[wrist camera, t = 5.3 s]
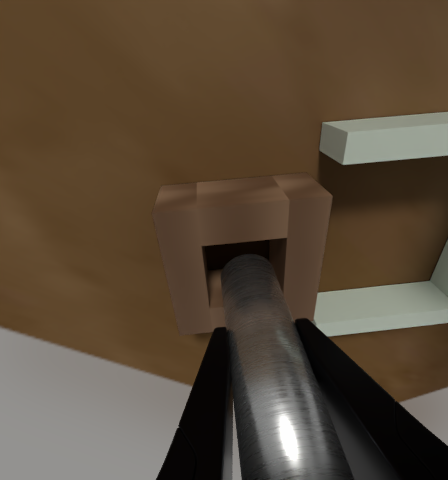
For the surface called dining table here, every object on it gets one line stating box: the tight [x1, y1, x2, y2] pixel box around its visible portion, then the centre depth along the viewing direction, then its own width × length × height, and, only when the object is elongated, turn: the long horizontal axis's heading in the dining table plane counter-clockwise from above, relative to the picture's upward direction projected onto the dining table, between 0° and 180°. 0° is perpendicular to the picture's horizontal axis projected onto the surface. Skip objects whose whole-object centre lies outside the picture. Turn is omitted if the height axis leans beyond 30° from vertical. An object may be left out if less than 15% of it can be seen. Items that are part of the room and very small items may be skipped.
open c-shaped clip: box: [311, 112, 448, 336], centre depth 14 cm, size 10×11×2 cm
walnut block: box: [152, 172, 333, 336], centre depth 13 cm, size 7×7×3 cm
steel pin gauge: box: [220, 254, 355, 480], centre depth 8 cm, size 3×3×9 cm
